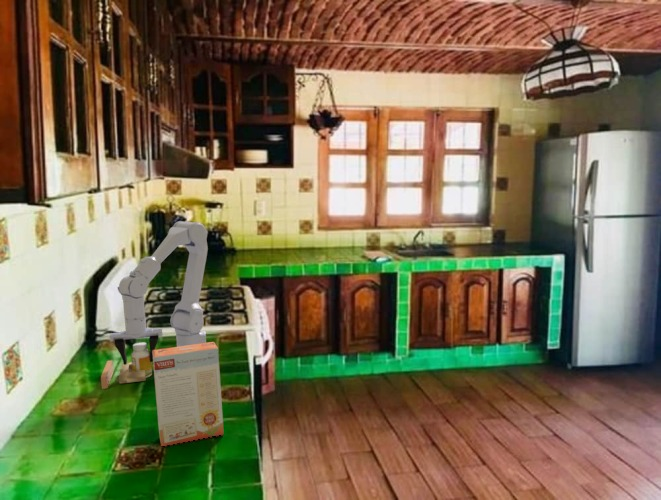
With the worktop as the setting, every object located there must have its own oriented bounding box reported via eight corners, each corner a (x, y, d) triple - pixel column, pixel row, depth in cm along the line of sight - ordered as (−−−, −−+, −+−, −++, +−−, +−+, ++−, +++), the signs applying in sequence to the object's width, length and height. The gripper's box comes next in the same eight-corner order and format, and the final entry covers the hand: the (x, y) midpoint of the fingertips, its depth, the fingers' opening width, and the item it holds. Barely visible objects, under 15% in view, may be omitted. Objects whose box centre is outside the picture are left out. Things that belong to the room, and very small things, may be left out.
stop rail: (113, 371, 174) (112, 360, 174) (107, 388, 161) (106, 376, 160) (108, 371, 174) (107, 360, 173) (101, 388, 160) (100, 377, 160)
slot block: (147, 369, 175) (146, 360, 174) (145, 380, 165) (144, 372, 165) (123, 371, 173) (122, 363, 173) (119, 383, 163) (118, 374, 163)
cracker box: (219, 425, 136) (214, 340, 133) (224, 436, 130) (219, 347, 127) (158, 436, 131) (151, 348, 128) (160, 448, 125) (153, 356, 122)
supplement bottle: (155, 372, 172) (152, 341, 170) (147, 379, 167) (144, 347, 165) (138, 372, 173) (135, 341, 171) (130, 379, 167) (126, 347, 166)
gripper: (106, 323, 161) (110, 369, 163) (160, 318, 165) (163, 363, 167) (109, 317, 168) (113, 361, 170) (161, 312, 171) (164, 356, 173)
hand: (138, 362), depth 169 cm, fingers open, 7 cm apart
